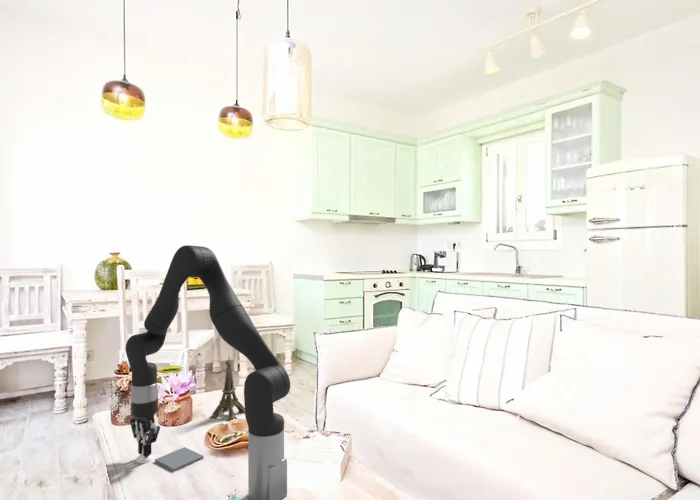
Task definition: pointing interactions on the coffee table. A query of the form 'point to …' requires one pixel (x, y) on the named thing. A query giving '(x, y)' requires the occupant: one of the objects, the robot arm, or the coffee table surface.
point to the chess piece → (144, 459)
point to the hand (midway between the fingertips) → (144, 454)
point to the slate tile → (179, 459)
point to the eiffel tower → (228, 397)
